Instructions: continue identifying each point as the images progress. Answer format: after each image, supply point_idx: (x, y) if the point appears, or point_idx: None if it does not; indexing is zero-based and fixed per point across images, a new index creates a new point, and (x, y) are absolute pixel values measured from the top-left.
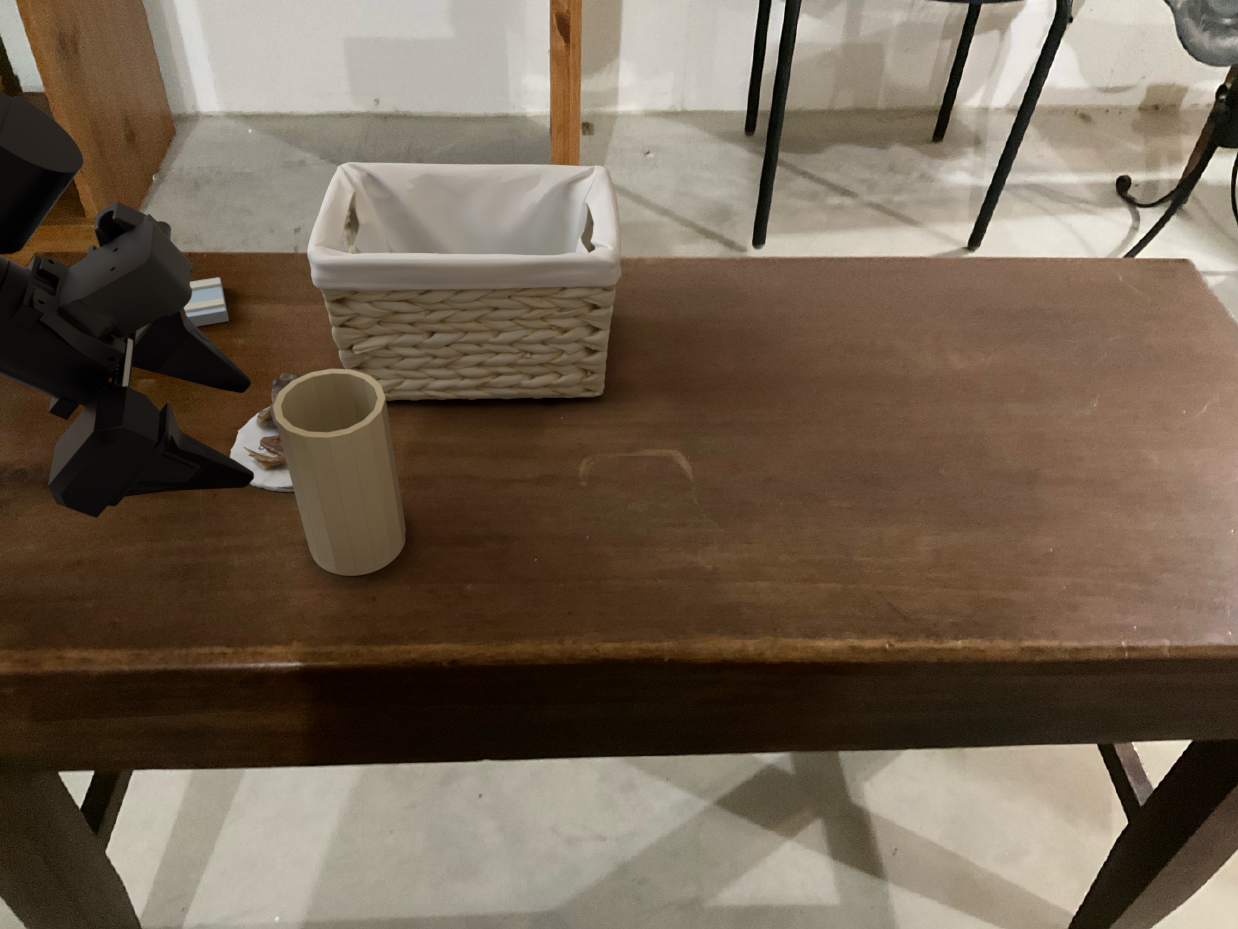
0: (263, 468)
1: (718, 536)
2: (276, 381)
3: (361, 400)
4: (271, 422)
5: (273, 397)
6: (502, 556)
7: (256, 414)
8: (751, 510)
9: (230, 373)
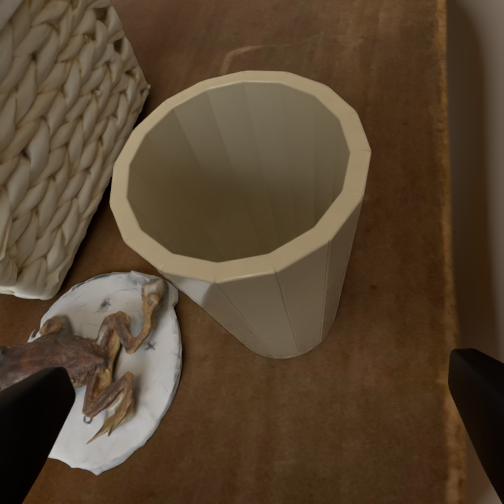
0: (131, 416)
1: (328, 34)
2: None
3: (186, 163)
4: None
5: None
6: None
7: None
8: (304, 17)
9: (16, 416)
